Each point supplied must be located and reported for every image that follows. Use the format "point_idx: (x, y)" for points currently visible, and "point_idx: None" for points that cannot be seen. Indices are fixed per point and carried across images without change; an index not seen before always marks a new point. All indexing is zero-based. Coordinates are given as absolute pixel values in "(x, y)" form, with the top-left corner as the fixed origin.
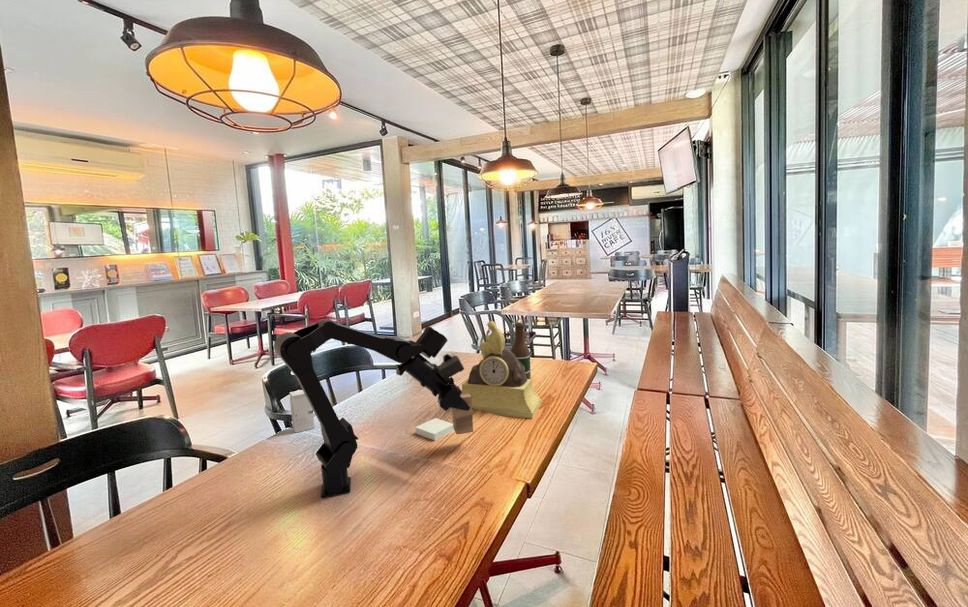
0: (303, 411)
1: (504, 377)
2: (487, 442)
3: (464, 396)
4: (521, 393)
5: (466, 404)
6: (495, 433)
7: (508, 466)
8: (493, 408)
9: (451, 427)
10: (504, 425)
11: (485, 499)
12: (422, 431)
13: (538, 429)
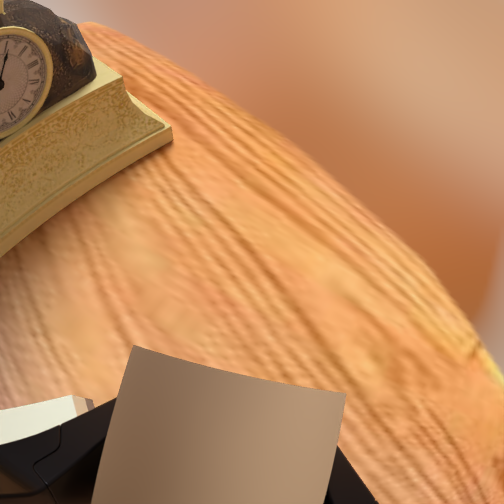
0: None
1: (42, 79)
2: (226, 331)
3: (297, 470)
4: (116, 92)
5: (344, 463)
6: (179, 270)
7: (412, 348)
8: (56, 191)
9: (79, 412)
10: (149, 216)
11: (500, 455)
12: None
13: (243, 159)
